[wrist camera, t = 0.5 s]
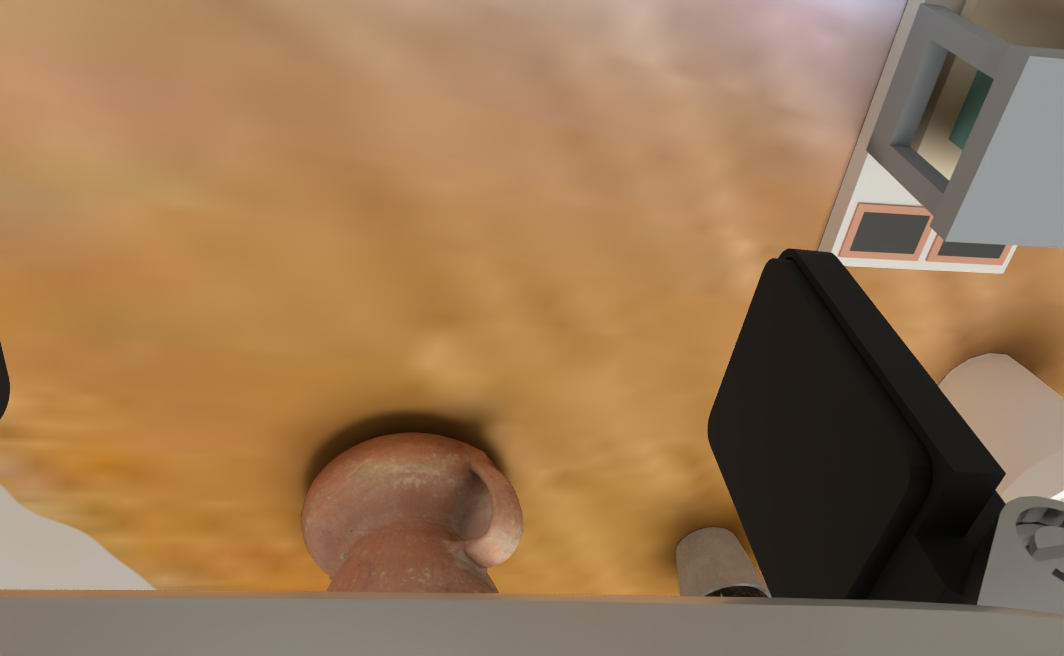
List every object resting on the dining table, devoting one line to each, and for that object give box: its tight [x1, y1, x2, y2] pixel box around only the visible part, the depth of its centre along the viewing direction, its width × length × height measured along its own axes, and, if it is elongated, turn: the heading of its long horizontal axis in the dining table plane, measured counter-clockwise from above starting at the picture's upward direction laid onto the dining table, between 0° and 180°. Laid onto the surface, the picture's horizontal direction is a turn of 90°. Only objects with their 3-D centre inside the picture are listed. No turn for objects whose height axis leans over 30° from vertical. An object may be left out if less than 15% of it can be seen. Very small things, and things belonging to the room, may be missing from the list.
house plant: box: [675, 527, 772, 598], centre depth 62 cm, size 14×14×16 cm
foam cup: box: [938, 353, 1064, 503], centre depth 56 cm, size 10×9×13 cm
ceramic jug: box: [301, 432, 523, 593], centre depth 55 cm, size 18×14×14 cm
